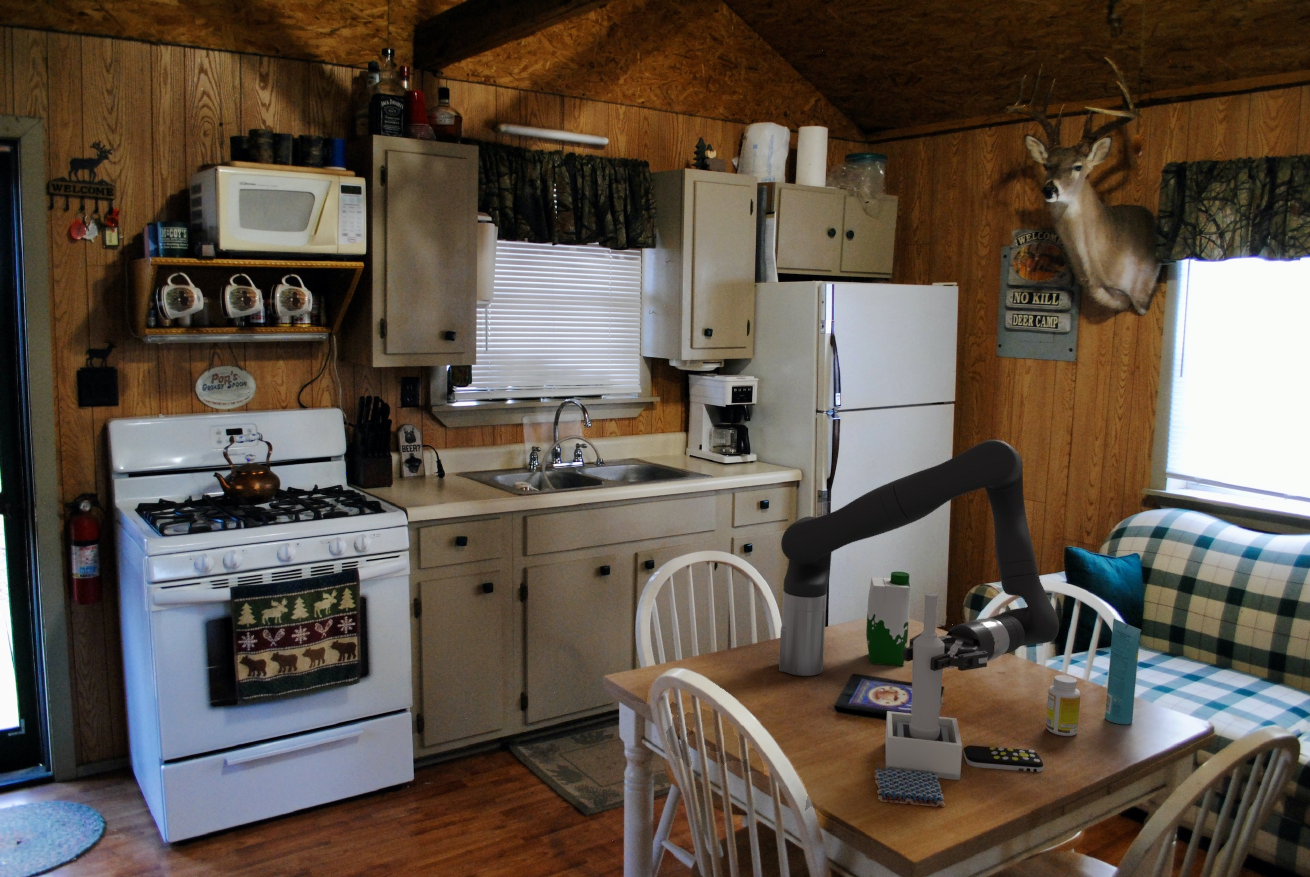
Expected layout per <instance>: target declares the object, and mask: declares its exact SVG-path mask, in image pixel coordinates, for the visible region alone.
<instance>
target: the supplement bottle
mask: <svg viewBox="0 0 1310 877" xmlns="http://www.w3.org/2000/svg"><path fill="white" fill-rule="evenodd" d="M1053 678H1054V679H1053V684H1052V685H1050V686H1049V687H1048V690H1047V691H1048V692H1047V693H1048V694H1047V695H1048V696H1047V708H1046V709H1047V710H1046V723H1045V726H1046V729H1047V730H1048V731H1049V732H1050V733H1052V734H1054V735H1057V736H1064V737H1072V736H1075V735H1076V734H1077V733H1078V731H1079V719H1080V717H1079V716H1080V708H1081V707H1080V704H1081V691H1080V690H1079V689H1078V687H1077V684H1078V683H1077V682H1078V680H1077V679H1076V678H1075V677H1072V676H1069V675H1064V674H1063V675H1062V674H1061V675H1060V674H1057V675H1055V676H1054V677H1053Z"/></svg>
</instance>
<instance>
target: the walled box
mask: <svg viewBox="0 0 1310 877" xmlns="http://www.w3.org/2000/svg"><path fill="white" fill-rule="evenodd" d="M885 722H886V723H885V724H886V725H885V739H884V742H885V744H884V745H885V746H884V748H885V771H888V768H890V771H892V770H895V771H897V769H900V771H901V772H902V771H905V772H906V771H907V770H909V771H910V772H911V773H912V771H915V773H916V772H917V771H919V772H920V773H921V774H922V772H924V773H925V775H926V774H927V771H929V774H931V775H932V773H935V776H936V775H937V777H938V779H945V780H946V779H947V780H955V781H961V771H962V756H963V754H962V752H963V743H962V742H963V741H962V738H961V734H960V728H959V723H958V719H957V718H955V717H947V716H946V717H945V716H939V726H940V734H939V737H938V738H937V739H936V740H934V741H932V740H923V739H916V738H913V737H912V736H911V734H910V730H909V723H910V722H911V713H909V712H899V711H898V712H897V711H889V710H887V711H886V721H885ZM892 772H893V771H892ZM906 774H907V773H906Z"/></svg>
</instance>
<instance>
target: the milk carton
mask: <svg viewBox="0 0 1310 877" xmlns="http://www.w3.org/2000/svg"><path fill="white" fill-rule="evenodd" d="M910 586H911V585H910V573H908V572H905V571H892V572H891V573H890V577H873V576H872V577H870V585H869V591H868V592H869V593H868V598H867V612H866V613H867V614H866V616H867V617H866V628H865V629H866V631H865V633H866V634H865V637H866V643H867V644H866V645H867V649H868V650H867V651H868V656H869V657H868V658H869V661H870V664H871V665H872V664H873V665H884V666H885V665H887V666H901V667H903V666H904V665H905V661H904V660H903V649H905V648H908V638H909V623H910V622H909V621H910V606H911V605H910V602H911V601H910V600H911V599H910V597H911V595H910V594H911V587H910Z"/></svg>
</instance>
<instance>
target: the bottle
mask: <svg viewBox="0 0 1310 877" xmlns="http://www.w3.org/2000/svg"><path fill="white" fill-rule="evenodd" d="M937 606H938V594H937V593H935V592H926V593H925V594H924V613H923V615H924V616H923V631H921V633H920V634H921V635H920V636H919V637H918V638H916V639H915V640H914V641H913V660H912V671H911V672H912V675H911V676H912V678H911V679H912V680H911V681H912V682H911V710H910V711H911V713H910V714H911V722H910V723H909V730H910V734H911V736H912V737H913V738H916V739H923V740H932V741H934V740H936V739H937V738H938V737H939V734H940V726H939V717H940V711H941V697H942V685H943V672H944V671H943V670H944V668H943V669H940V670H937V671H933V670H931V669H930V663H931V658H932V657H935V656H938V655H942V654H944V646H945V645H944V643H943V642H942V641H941V640H940V639H939V638H938V637H939V636H938V633H937V632H936V628H937V627H936V626H937V625H936V624H937Z"/></svg>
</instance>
